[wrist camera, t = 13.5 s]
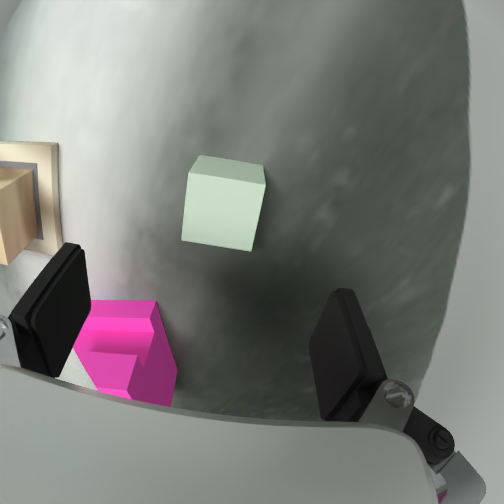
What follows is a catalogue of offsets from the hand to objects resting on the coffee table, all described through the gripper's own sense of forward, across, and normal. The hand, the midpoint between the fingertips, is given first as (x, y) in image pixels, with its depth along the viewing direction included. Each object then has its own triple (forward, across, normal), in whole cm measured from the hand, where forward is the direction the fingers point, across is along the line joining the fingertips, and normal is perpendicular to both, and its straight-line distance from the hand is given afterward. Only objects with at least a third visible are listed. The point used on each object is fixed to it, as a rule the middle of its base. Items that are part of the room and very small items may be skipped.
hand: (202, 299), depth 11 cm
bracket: (+13, +9, +19) cm, 25 cm away
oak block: (+12, +19, +4) cm, 23 cm away
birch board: (+13, +19, +4) cm, 23 cm away
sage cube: (+13, 0, +1) cm, 13 cm away
